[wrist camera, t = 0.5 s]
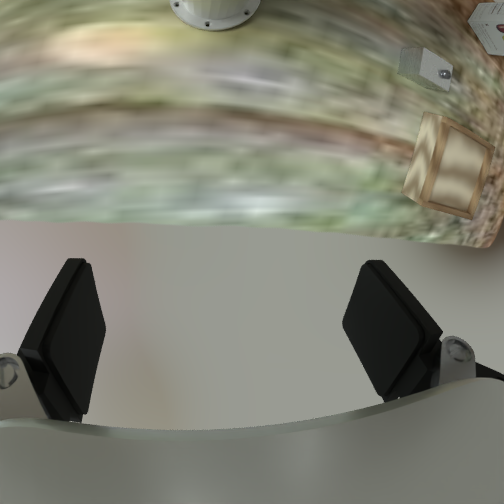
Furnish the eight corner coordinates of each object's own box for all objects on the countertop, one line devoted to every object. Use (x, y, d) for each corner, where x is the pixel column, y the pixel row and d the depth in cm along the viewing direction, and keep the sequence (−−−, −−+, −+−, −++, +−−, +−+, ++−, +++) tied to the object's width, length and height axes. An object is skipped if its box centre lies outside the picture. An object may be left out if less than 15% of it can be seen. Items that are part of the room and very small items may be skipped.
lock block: (401, 48, 36) (426, 46, 30) (430, 64, 37) (456, 66, 31) (396, 73, 38) (422, 74, 32) (426, 88, 39) (451, 92, 34)
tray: (423, 111, 42) (448, 117, 36) (473, 138, 45) (495, 147, 40) (401, 192, 49) (422, 206, 44) (452, 207, 53) (471, 220, 47)
